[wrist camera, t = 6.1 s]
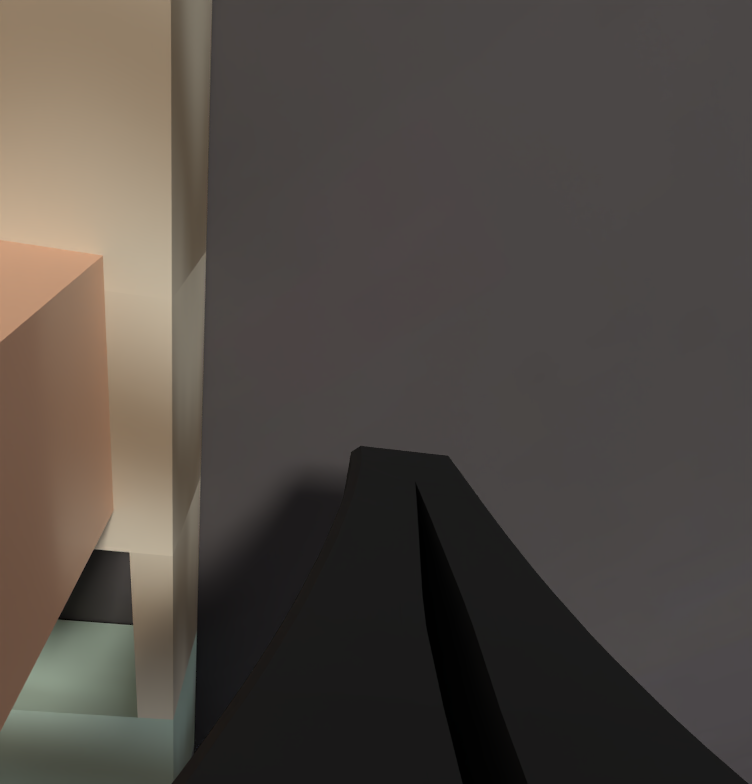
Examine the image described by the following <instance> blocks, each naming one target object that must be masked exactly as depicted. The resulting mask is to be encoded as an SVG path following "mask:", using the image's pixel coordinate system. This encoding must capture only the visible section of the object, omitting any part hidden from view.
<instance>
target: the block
mask: <svg viewBox="0 0 752 784" xmlns="http://www.w3.org/2000/svg"><path fill="white" fill-rule="evenodd" d="M113 511H114V508H113V484H112V461H111V437H110V413H109V389H108V366H107V342H106V318H105V294H104V270H103V255H97V254H90V253H83V252H77V251H70V250H64V249H57V248H51V247H44V246H37V245H31V244H24V243H18V242H11V241H4V240H0V731H1V729H2V727H3V725H4V724H5V722H6V720H7V718H8V716H9V714H10V712H11V710H12V708H13V706H14V704H15V702H16V700H17V698H18V696H19V694H20V692H21V690H22V688H23V686H24V684H25V682H26V681H27V679H28V677H29V675H30V673H31V671H32V669H33V667H34V665H35V663H36V661H37V659H38V657H39V655H40V653H41V651H42V649H43V647H44V645H45V643H46V641H47V640H48V638H49V636H50V634H51V632H52V630H53V628H54V626H55V624H56V622H57V620H58V618H59V616H60V614H61V612H62V610H63V608H64V606H65V604H66V602H67V600H68V599H69V597H70V595H71V593H72V591H73V589H74V587H75V585H76V583H77V581H78V579H79V577H80V575H81V573H82V571H83V569H84V567H85V565H86V563H87V561H88V559H89V557H90V556H91V554H92V552H93V550H94V548H95V546H96V544H97V542H98V540H99V538H100V536H101V534H102V532H103V530H104V528H105V526H106V524H107V522H108V520H109V518H110V516H111V515H112V513H113Z"/></svg>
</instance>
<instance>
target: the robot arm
mask: <svg viewBox="0 0 752 784" xmlns="http://www.w3.org/2000/svg"><path fill="white" fill-rule="evenodd" d="M172 784H748V783H747V782H746V781H745V780H743V779H742V778H741V777H740V776H739V775H738V774H737V773H735V772H734V771H733V770H732V769H731V768H730V767H728V766H727V765H726V764H725V763H724V762H723V761H722V760H720V759H719V758H718V757H717V756H716V755H715V754H713V753H712V752H711V751H710V750H709V749H708V748H707V747H705V746H704V745H703V744H702V743H701V742H700V741H699V740H698V739H697V738H696V737H695V736H693V735H692V734H691V733H690V732H689V731H688V730H687V729H686V728H685V727H684V726H683V725H681V724H680V723H679V722H678V721H677V720H676V719H675V718H674V717H673V716H672V715H671V714H670V713H669V712H667V711H666V710H665V709H664V708H663V707H662V706H661V705H660V704H659V703H658V702H657V701H656V700H655V699H654V698H653V697H652V696H651V695H650V694H649V693H648V692H647V691H646V690H645V689H644V688H643V687H642V686H641V685H640V684H639V683H638V682H637V681H636V680H635V679H634V678H633V677H632V676H631V675H630V674H629V673H628V672H627V671H626V670H625V669H624V668H623V667H622V666H621V665H620V664H619V663H618V662H617V661H616V660H615V659H614V658H613V657H612V656H611V655H610V654H609V653H608V652H607V651H606V650H605V649H604V648H603V647H602V646H601V645H600V644H599V643H598V642H597V641H596V640H595V639H594V637H593V636H592V635H591V634H590V633H589V632H588V631H587V630H586V629H585V628H584V626H583V625H582V624H581V623H580V622H579V621H578V620H577V619H576V617H575V616H574V615H573V614H572V613H571V612H570V611H569V610H568V609H567V607H566V606H565V605H564V604H563V603H562V602H561V601H560V600H559V598H558V597H557V596H556V595H555V594H554V593H553V592H552V590H551V589H550V588H549V587H548V586H547V585H546V583H545V582H544V581H543V580H542V579H541V577H540V576H539V575H538V574H537V573H536V571H535V570H534V569H533V568H532V567H531V565H530V564H529V563H528V562H527V560H526V559H525V558H524V557H523V555H522V554H521V553H520V551H519V550H518V549H517V548H516V546H515V545H514V544H513V543H512V541H511V540H510V539H509V538H508V536H507V535H506V534H505V532H504V531H503V530H502V528H501V527H500V526H499V524H498V523H497V522H496V520H495V519H494V518H493V516H492V515H491V514H490V512H489V511H488V510H487V508H486V507H485V506H484V504H483V503H482V502H481V500H480V499H479V497H478V496H477V495H476V493H475V492H474V491H473V489H472V488H471V486H470V485H469V484H468V482H467V481H466V480H465V478H464V477H463V475H462V474H461V473H460V471H459V470H458V469H457V467H456V466H455V465H454V463H453V462H452V461H451V459H450V458H449V457H448V456H444V455H435V454H427V453H418V452H409V451H400V450H391V449H383V448H374V447H365V446H360V447H359V448H357V449H355V450H354V451H352V452H351V457H350V463H349V468H348V474H347V480H346V486H345V492H344V497H343V500H342V503H341V506H340V509H339V511H338V513H337V516H336V518H335V520H334V523H333V525H332V528H331V530H330V532H329V535H328V537H327V539H326V542H325V544H324V546H323V548H322V551H321V553H320V555H319V557H318V559H317V561H316V562H315V564H314V566H313V568H312V570H311V572H310V574H309V576H308V578H307V580H306V581H305V583H304V585H303V587H302V589H301V591H300V593H299V595H298V597H297V599H296V601H295V602H294V604H293V606H292V608H291V609H290V611H289V613H288V614H287V616H286V618H285V620H284V621H283V623H282V625H281V626H280V628H279V630H278V631H277V633H276V635H275V636H274V638H273V639H272V641H271V643H270V644H269V646H268V647H267V649H266V651H265V652H264V654H263V655H262V657H261V658H260V660H259V661H258V663H257V665H256V666H255V668H254V669H253V671H252V672H251V674H250V675H249V677H248V678H247V680H246V681H245V683H244V684H243V686H242V687H241V689H240V690H239V691H238V693H237V694H236V696H235V697H234V699H233V700H232V701H231V703H230V704H229V706H228V707H227V709H226V710H225V711H224V713H223V714H222V716H221V717H220V719H219V720H218V721H217V723H216V724H215V726H214V727H213V729H212V730H211V731H210V733H209V734H208V736H207V737H206V738H205V740H204V741H203V742H202V744H201V745H200V747H199V748H198V749H197V751H196V752H195V753H194V755H193V756H192V757H191V759H190V760H189V761H188V763H187V764H186V765H185V767H184V768H183V769H182V771H181V772H180V773H179V775H178V776H177V777H176V779H175V780H174V781H173V782H172Z"/></svg>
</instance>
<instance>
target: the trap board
mask: <svg viewBox="0 0 752 784" xmlns="http://www.w3.org/2000/svg"><path fill="white" fill-rule="evenodd" d="M211 28H212V0H0V240H4V241H11V242H18V243H24V244H31V245H37V246H44V247H51V248H57V249H64V250H70V251H77V252H83V253H90V254H97V255H103V270H104V294H105V318H106V342H107V366H108V389H109V413H110V437H111V461H112V484H113V508H114V511H113V513H112V515H111V516H110V518H109V520H108V522H107V524H106V526H105V528H104V530H103V532H102V534H101V536H100V538H99V540H98V542H97V544H96V546H95V548H94V549H98V550H109V551H120V552H130V569H131V589H132V610H133V625H123V624H110V623H97V622H84V621H71V620H57V622H56V624H55V626H54V628H53V630H52V632H51V634H50V636H49V638H48V640H47V641H46V643H45V645H44V647H43V649H42V651H41V653H40V655H39V657H38V659H37V661H36V663H35V665H34V667H33V669H32V671H31V673H30V675H29V677H28V679H27V681H26V682H25V684H24V686H23V688H22V690H21V692H20V694H19V696H18V698H17V700H16V702H15V704H14V706H13V708H12V710H11V712H10V714H9V716H8V718H7V720H6V722H5V724H4V725H3V727H2V729H1V731H0V784H172V782H173V781H174V780H175V779H176V777H177V776H178V775H179V773H180V772H181V771H182V769H183V768H184V767H185V765H186V764H187V763H188V761H189V760H190V759H191V757H192V756H193V755H194V731H195V689H196V648H197V607H198V565H199V524H200V483H201V441H202V400H203V359H204V317H205V276H206V234H207V193H208V152H209V110H210V69H211Z"/></svg>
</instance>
